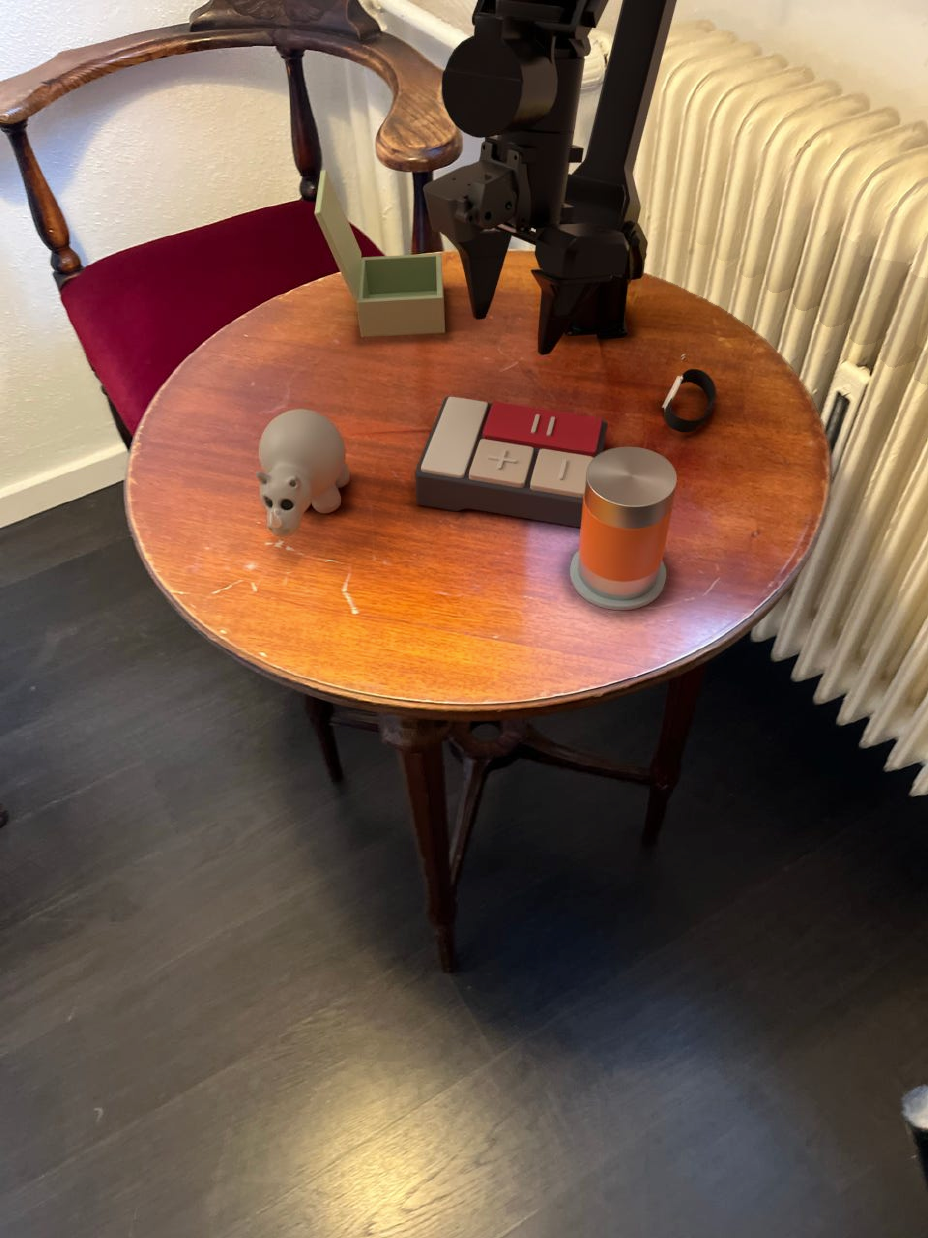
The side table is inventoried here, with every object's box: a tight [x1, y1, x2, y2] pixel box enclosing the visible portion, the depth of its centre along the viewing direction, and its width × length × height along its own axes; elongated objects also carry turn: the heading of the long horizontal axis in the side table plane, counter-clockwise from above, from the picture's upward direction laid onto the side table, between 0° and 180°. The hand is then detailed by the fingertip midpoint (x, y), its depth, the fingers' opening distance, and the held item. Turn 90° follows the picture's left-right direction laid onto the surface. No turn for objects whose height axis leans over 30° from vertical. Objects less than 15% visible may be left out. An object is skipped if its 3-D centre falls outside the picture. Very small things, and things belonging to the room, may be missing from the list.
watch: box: [661, 368, 717, 433], centre depth 83 cm, size 8×5×4 cm, turn 156°
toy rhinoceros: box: [255, 408, 351, 538], centre depth 74 cm, size 7×12×8 cm, turn 168°
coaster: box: [569, 549, 667, 611], centre depth 71 cm, size 8×8×1 cm
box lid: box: [314, 169, 362, 300], centre depth 89 cm, size 9×9×1 cm
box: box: [355, 252, 446, 338], centre depth 95 cm, size 9×9×5 cm
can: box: [578, 446, 678, 600], centre depth 67 cm, size 6×6×10 cm
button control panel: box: [414, 396, 608, 528], centre depth 78 cm, size 11×4×15 cm
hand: (510, 335), depth 75 cm, fingers open, 9 cm apart
